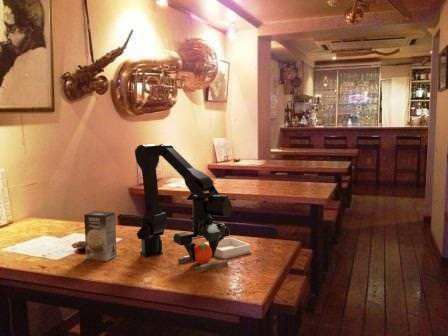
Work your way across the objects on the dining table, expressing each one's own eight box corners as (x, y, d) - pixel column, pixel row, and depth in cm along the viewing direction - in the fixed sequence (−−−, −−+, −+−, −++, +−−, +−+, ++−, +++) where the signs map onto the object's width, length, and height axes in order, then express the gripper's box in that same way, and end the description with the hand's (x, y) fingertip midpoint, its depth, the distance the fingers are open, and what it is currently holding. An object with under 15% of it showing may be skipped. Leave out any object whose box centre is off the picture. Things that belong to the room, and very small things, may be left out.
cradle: (196, 273, 126) (196, 267, 126) (178, 262, 136) (177, 257, 136) (227, 265, 133) (227, 259, 132) (208, 255, 143) (208, 250, 142)
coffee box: (85, 259, 142) (82, 214, 140) (96, 253, 148) (94, 210, 146) (107, 261, 139) (105, 215, 137) (117, 255, 145) (115, 211, 143)
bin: (222, 259, 139) (222, 250, 138) (203, 250, 149) (203, 242, 148) (250, 252, 145) (250, 244, 145) (230, 244, 155) (230, 237, 155)
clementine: (215, 266, 131) (215, 245, 131) (194, 269, 129) (194, 247, 129) (209, 259, 139) (209, 239, 138) (189, 261, 137) (189, 241, 136)
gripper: (188, 222, 121) (190, 273, 122) (238, 214, 131) (239, 260, 133) (171, 216, 130) (173, 263, 131) (219, 208, 140) (220, 252, 142)
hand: (202, 260), depth 134 cm, fingers closed on clementine, 7 cm apart
